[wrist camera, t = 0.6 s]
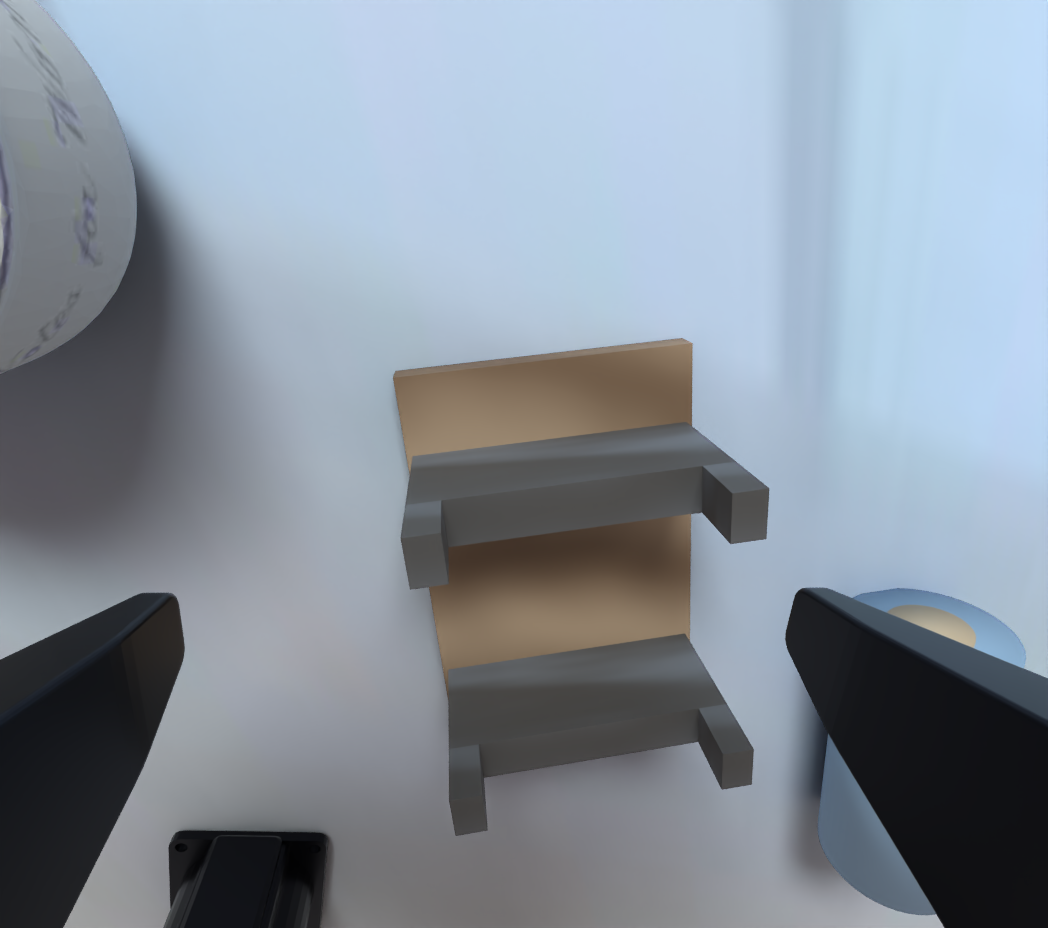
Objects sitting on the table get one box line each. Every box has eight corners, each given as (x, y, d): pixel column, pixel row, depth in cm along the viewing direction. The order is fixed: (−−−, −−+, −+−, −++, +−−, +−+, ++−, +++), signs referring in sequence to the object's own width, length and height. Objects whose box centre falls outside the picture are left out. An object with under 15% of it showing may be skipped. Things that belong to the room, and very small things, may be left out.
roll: (905, 784, 32) (1003, 904, 26) (792, 804, 31) (868, 930, 25) (943, 575, 27) (1072, 666, 21) (812, 595, 27) (910, 692, 21)
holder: (680, 697, 27) (753, 843, 21) (456, 734, 27) (460, 896, 20) (681, 338, 22) (783, 384, 15) (395, 370, 21) (372, 435, 14)
